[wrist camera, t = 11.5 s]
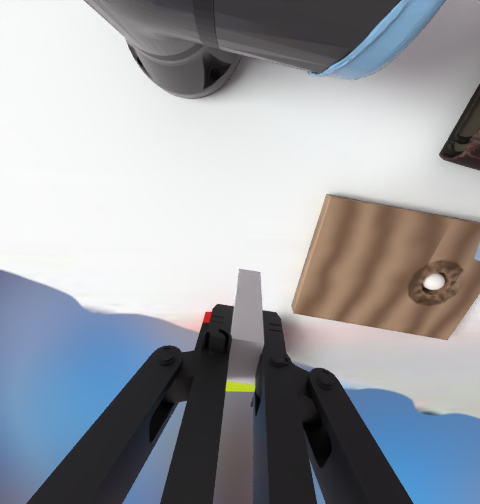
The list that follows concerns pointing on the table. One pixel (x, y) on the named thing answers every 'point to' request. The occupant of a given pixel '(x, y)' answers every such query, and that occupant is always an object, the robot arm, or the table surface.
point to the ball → (434, 281)
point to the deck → (389, 268)
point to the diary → (465, 137)
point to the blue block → (478, 253)
